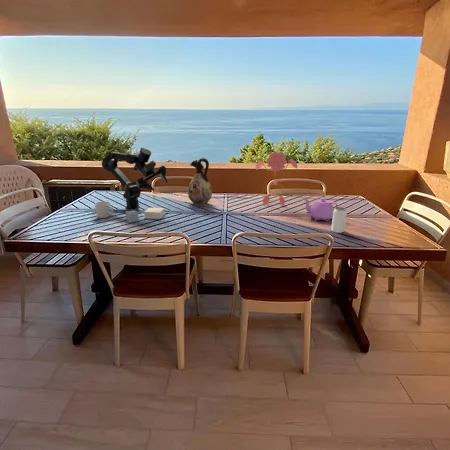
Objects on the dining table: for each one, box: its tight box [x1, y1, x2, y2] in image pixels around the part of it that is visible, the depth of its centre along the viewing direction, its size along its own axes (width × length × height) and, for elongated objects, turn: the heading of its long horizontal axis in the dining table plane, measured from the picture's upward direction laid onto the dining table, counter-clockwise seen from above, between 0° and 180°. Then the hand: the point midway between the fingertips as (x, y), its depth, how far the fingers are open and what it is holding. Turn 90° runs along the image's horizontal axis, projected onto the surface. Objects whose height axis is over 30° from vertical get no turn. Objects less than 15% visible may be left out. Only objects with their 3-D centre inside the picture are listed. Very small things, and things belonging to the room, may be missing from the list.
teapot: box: [303, 197, 339, 222], centre depth 196 cm, size 20×14×12 cm
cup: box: [94, 201, 115, 219], centre depth 192 cm, size 11×8×8 cm
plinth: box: [143, 207, 165, 220], centre depth 196 cm, size 9×9×4 cm
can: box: [330, 206, 348, 234], centre depth 176 cm, size 6×6×12 cm
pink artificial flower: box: [255, 150, 298, 211], centre depth 216 cm, size 15×26×35 cm, turn 89°
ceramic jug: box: [187, 157, 213, 207], centre depth 219 cm, size 17×15×30 cm
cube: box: [125, 209, 140, 224], centre depth 188 cm, size 5×5×5 cm
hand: (160, 186), depth 194 cm, fingers open, 9 cm apart
